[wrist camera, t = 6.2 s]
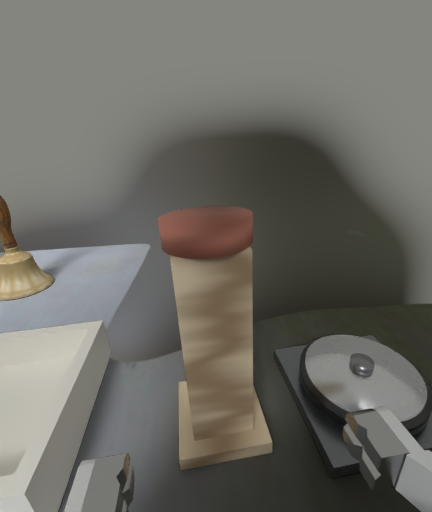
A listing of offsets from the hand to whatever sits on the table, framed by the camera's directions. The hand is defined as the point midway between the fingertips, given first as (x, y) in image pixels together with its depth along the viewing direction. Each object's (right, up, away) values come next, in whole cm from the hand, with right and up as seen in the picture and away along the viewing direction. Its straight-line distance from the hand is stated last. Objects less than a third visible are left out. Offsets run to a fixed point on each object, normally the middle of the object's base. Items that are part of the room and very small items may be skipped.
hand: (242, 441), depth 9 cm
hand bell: (-32, +1, +33) cm, 46 cm away
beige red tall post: (-1, -5, +10) cm, 11 cm away
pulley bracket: (+10, -4, +11) cm, 16 cm away
